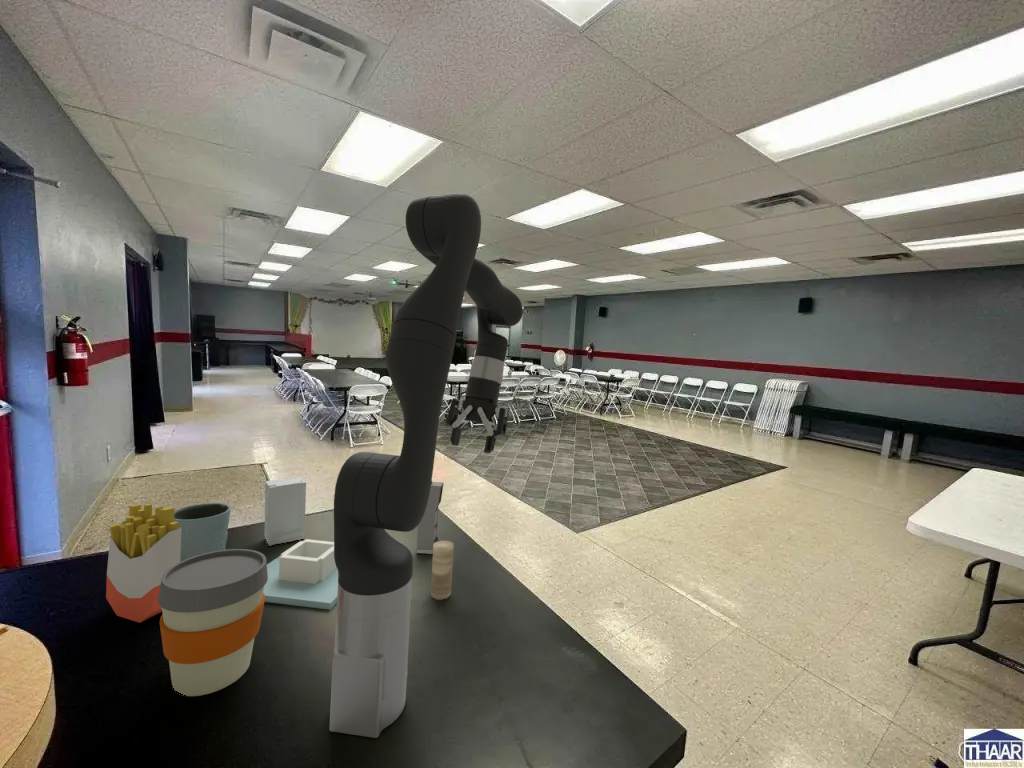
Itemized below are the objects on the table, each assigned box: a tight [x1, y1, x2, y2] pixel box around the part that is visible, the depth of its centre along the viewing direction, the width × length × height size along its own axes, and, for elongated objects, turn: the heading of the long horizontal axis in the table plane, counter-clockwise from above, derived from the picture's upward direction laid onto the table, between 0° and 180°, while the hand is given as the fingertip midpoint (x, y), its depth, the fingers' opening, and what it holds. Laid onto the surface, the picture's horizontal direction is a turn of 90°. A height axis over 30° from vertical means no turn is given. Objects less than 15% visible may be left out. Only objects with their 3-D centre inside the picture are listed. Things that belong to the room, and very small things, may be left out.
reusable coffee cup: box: [158, 548, 268, 697], centre depth 58 cm, size 12×13×15 cm
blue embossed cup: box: [174, 502, 232, 562], centre depth 87 cm, size 10×10×12 cm
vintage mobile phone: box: [416, 480, 444, 551], centre depth 100 cm, size 4×5×25 cm
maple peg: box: [430, 540, 455, 601], centre depth 82 cm, size 4×4×10 cm
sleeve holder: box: [263, 538, 338, 610], centre depth 86 cm, size 20×20×6 cm
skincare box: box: [264, 476, 307, 545], centre depth 102 cm, size 8×6×15 cm
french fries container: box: [105, 503, 182, 624], centre depth 70 cm, size 5×11×18 cm, turn 74°
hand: (470, 449), depth 93 cm, fingers open, 8 cm apart
